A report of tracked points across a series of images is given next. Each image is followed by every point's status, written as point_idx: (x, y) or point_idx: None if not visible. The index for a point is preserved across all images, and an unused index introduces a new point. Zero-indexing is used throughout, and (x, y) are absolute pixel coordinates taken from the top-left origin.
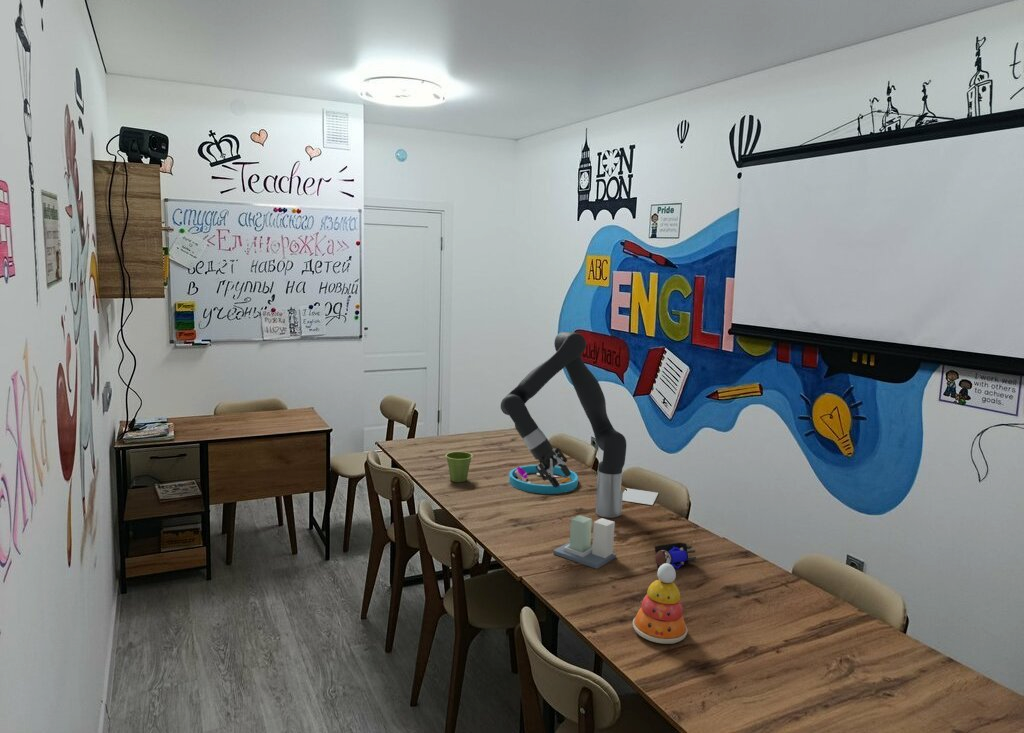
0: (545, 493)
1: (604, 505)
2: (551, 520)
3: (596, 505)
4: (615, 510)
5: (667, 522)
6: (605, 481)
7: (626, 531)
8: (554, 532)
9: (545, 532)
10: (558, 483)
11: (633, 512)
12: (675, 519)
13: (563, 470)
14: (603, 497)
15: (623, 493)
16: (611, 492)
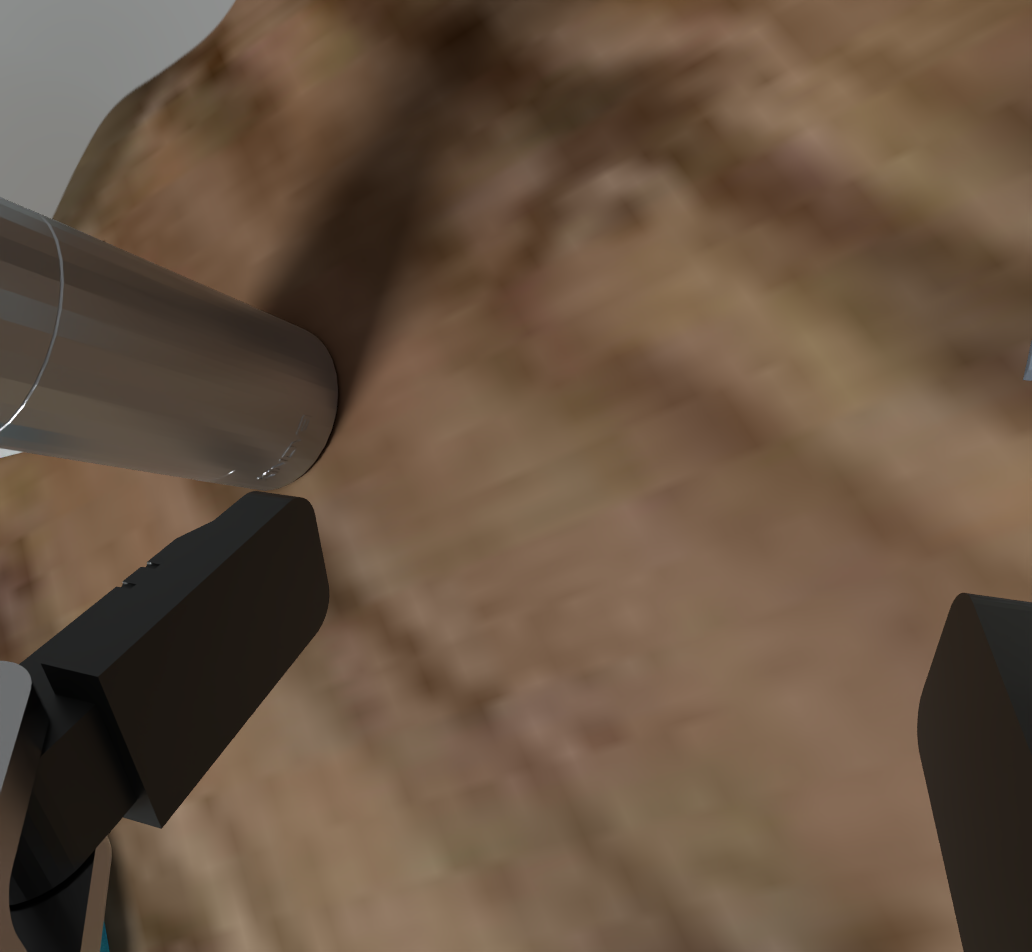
0: (106, 947)
1: (268, 376)
2: (558, 766)
3: (254, 462)
4: (274, 317)
5: (270, 54)
6: (58, 311)
7: (500, 154)
8: (833, 652)
9: (890, 743)
10: (1001, 631)
11: (206, 283)
12: (220, 49)
13: (215, 705)
14: (211, 371)
15: (9, 451)
16: (160, 289)
